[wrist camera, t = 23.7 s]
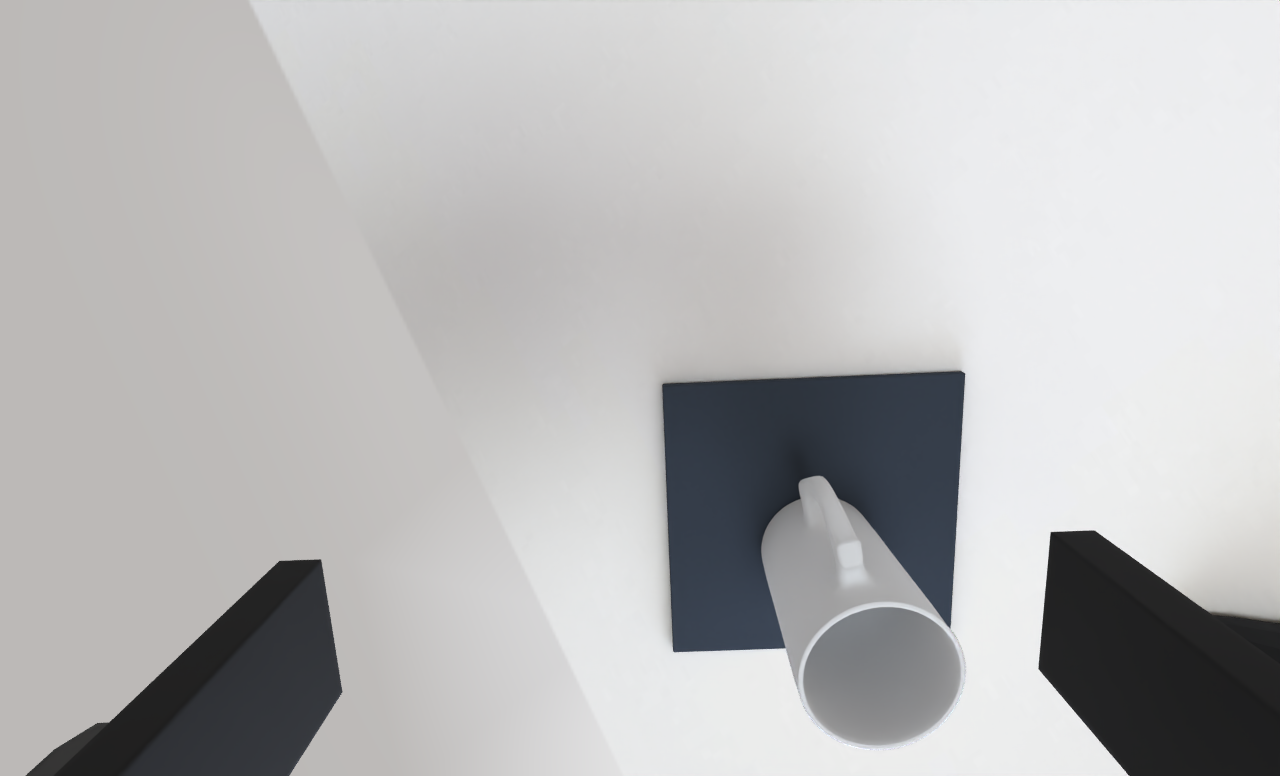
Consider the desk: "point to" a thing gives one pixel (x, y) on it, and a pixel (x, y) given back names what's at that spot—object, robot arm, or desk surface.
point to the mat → (769, 480)
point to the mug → (857, 626)
